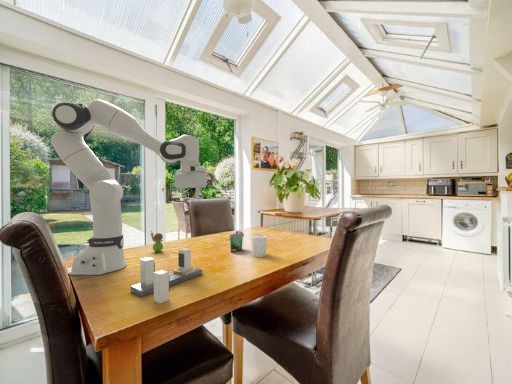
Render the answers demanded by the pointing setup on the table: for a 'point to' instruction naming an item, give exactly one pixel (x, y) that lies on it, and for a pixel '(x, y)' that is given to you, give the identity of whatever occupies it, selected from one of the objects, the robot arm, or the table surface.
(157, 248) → the snail figurine
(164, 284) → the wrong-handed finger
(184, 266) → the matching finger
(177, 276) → the rail
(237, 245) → the food container
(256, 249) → the white cup
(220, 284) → the table surface
